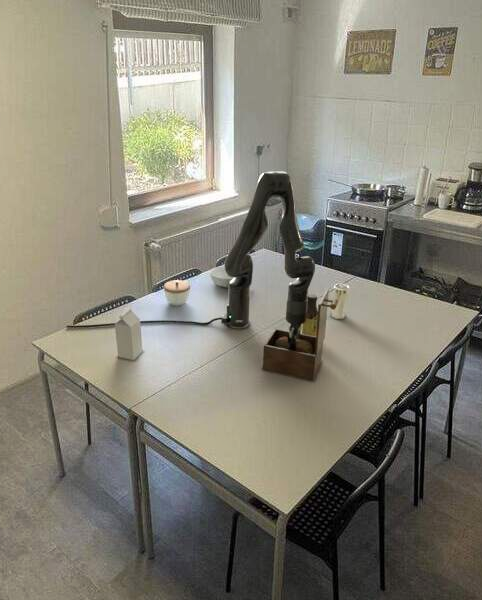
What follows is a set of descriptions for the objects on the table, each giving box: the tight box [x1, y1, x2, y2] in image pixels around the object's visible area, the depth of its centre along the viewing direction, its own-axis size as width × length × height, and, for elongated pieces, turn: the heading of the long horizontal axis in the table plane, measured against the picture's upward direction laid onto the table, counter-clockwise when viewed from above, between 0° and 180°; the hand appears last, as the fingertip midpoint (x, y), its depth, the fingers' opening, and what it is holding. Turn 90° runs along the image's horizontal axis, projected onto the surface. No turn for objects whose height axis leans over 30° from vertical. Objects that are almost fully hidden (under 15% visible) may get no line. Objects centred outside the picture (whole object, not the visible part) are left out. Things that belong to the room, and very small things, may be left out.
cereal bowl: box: [210, 265, 235, 288], centre depth 256 cm, size 17×17×7 cm
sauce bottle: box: [301, 293, 318, 336], centre depth 204 cm, size 7×6×20 cm
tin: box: [274, 337, 313, 355], centre depth 186 cm, size 15×3×8 cm, turn 69°
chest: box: [262, 328, 324, 382], centre depth 187 cm, size 20×14×11 cm
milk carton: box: [114, 308, 143, 361], centre depth 191 cm, size 7×7×19 cm
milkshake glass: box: [331, 283, 350, 320], centre depth 224 cm, size 7×7×15 cm
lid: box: [315, 288, 338, 356], centre depth 176 cm, size 20×14×5 cm
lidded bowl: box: [163, 279, 191, 307], centre depth 235 cm, size 13×13×11 cm
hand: (293, 349), depth 186 cm, fingers closed on tin, 2 cm apart
